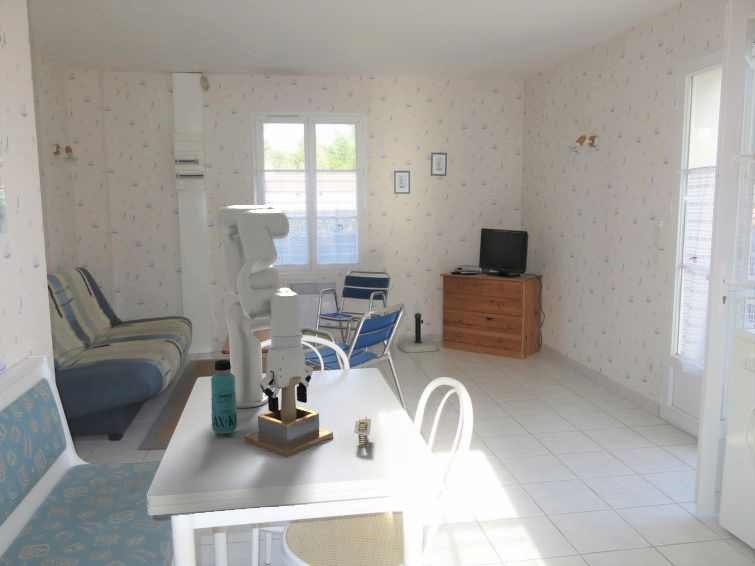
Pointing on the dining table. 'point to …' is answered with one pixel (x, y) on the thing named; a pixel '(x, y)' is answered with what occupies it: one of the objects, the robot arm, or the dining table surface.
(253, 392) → the robot arm
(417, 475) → the dining table surface
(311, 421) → the sleeve
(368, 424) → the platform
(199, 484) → the dining table surface
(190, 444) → the dining table surface
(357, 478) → the dining table surface
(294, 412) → the handle
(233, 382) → the beverage bottle
